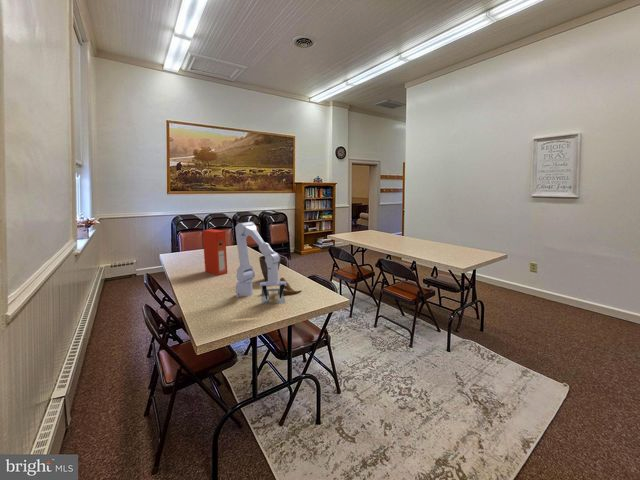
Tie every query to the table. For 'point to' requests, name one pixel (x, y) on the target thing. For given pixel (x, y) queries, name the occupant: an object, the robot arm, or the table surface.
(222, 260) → the file binder
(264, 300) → the wall board
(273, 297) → the cabinet block
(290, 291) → the hammer
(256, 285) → the table surface
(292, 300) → the table surface
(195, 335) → the table surface
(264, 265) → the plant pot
